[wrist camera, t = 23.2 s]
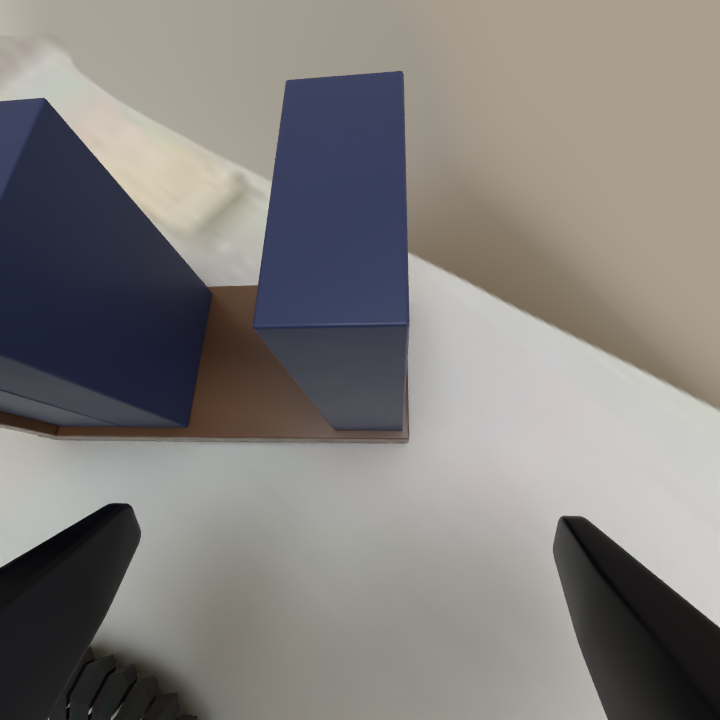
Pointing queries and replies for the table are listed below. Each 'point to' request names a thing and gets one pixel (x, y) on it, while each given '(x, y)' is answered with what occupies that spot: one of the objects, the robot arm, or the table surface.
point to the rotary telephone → (113, 694)
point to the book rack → (232, 393)
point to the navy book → (340, 249)
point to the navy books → (88, 289)
